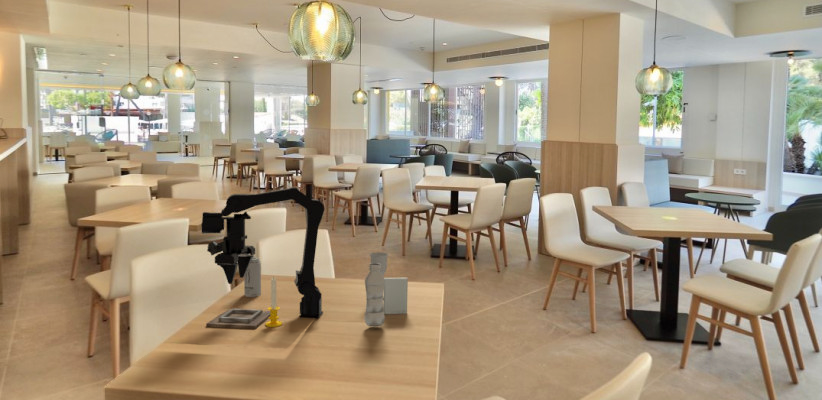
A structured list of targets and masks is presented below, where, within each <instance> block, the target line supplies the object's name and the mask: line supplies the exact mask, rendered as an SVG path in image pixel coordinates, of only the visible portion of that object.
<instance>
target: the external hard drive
mask: <svg viewBox="0 0 822 400" xmlns="http://www.w3.org/2000/svg"><path fill="white" fill-rule="evenodd" d="M384 279H385V284H384V291H383V298H384V300H383V311H384V315H405V314H408V290H409V289H408V287H409V286H408V277H384Z"/></svg>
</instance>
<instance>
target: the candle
mask: <svg viewBox="0 0 822 400" xmlns="http://www.w3.org/2000/svg"><path fill="white" fill-rule="evenodd" d="M280 309H281V307H280V306H277V278H276V277H274V276H273V277H271V281H270V306H269V307H267V311H270V317H269V318H268V320H270V321H267V322H264V323H265V327H267V328H278V327H281V326H283V322H282V321H281V320H279V319H280V316H279V315H278V310H280Z"/></svg>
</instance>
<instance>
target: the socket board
mask: <svg viewBox="0 0 822 400" xmlns="http://www.w3.org/2000/svg"><path fill="white" fill-rule="evenodd" d="M269 317H270V310H263V309H251V308H250V309H249V308H248V309H247V308H231V309H226V310H225V311H223V312H222V313H221V314H218V315H217V316H216V317H214V318H213V319H211V320H209V321H208V322H207V323H206V324H205V325H206V327H207V328H225V329H226V328H227V329H247V330H249V329H251V330H256V329H257V328H258V327H260V326H261V325H263V324H264V323H266V321H267V320H269Z"/></svg>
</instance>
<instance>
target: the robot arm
mask: <svg viewBox="0 0 822 400" xmlns="http://www.w3.org/2000/svg"><path fill="white" fill-rule="evenodd" d="M290 200H293V201H294V202H295V203H296V204H298V205H300V206H302V208H304V211H305V212H304V215H305V223H306V224H305V225H306V226H305V237H304V245H303V253H302V254H303V255H302V260H301V261H302V262H301V267H300V269H299V270H298V269H297V270H295V278H294V279H295V280H294V282H293V283H294V285H295V287H296V288H297V290H298V293H299V294H301V295H302V297H301V301H299V314H300V315H299V317H300V318H307V319H308V318H309V319H319V318H320V317H321V316H322V315H323V313H324V311H323V309H322V306H323V305H322V300H323V299H322V292H321V291H320V289H319V287H318V286H316V281H315V280H316V278H315V277H316V276H315V269H314V266H315V259H316V250H317V241H318V233H319V227H320V224H321V222H322V219H323V215H324V212H325V205H324V204H323V202H322V201H320V200H319V199H316V198H311V197H309V196H307V195H306V194H305V193H303V192H301V190H299V189H298V188H297V187H295V186H292V187H288V188H283V189H278V190H272V191H265V192H260V193H233V194H231V195H229V196H228V198H227V199H226V203H225V204H226V205H225V206H224V208H223V209H221V211H220V212H207V211H203V212H202V218H201V219H202V220H201V226H200V227H201V234H207V235H208V234H221V233H222V232H223V231H225V225H226V236H224V237H223V239H222V240H223V241H220V242H218V243H217V242H216V241H215V240H214V241H211V242H208V244H207V252H209V253H210V256H214V255H215V256H214V264H217V266H219V267H221V268H222V270H223V273H224V275H225V278H226V280H227V284H228V285H232V284H233V282H234V279H235V275H236V272H237V269H238V273H239V275H238V276H239V278H244V275H245V273H246V270H247V268H248V266H249V264H250V262H251V260H252V258H253V257H254V255H256V247H254V245H246V239H248V235H247V234H246V220H251V219H252V216H251V215H250V214H248V212H247V210H249V209H252V208H254V207H257V206H261V205H267V204H273V203H280V202H285V201H286V202H287V201H290ZM241 212H243V213H241ZM231 214H233V216H230V215H231ZM225 220H226V224H225Z"/></svg>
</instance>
